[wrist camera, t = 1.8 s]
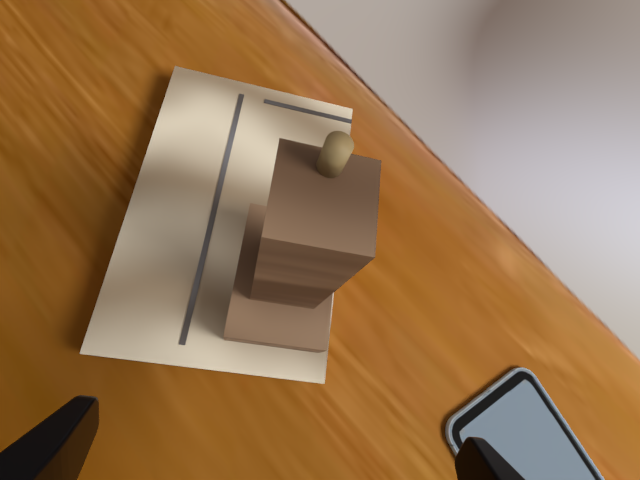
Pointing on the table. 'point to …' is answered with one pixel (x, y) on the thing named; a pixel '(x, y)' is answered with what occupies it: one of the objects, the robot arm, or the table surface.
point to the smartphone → (523, 430)
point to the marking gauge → (304, 244)
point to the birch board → (202, 227)
